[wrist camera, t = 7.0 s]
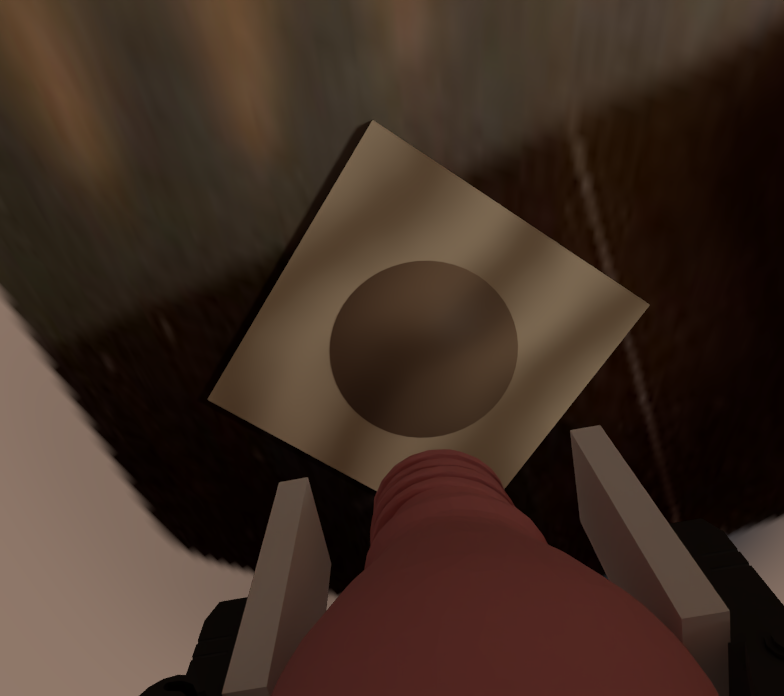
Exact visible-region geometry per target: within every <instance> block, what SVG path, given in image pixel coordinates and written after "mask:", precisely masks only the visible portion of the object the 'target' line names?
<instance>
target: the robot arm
mask: <svg viewBox="0 0 784 696" xmlns="http://www.w3.org/2000/svg"><path fill="white" fill-rule="evenodd" d="M570 435H571V444H572V452H573V461H574V470H575V479H576V488H577V497H578V506H579V515H580V522H581V524H582V526H583V528H584V530H585V532H586V534H587V536H588V538H589V540H590V542H591V544H592V546H593V548H594V550H595V552H596V554H597V557H598V559H599V561H600V563H601V565H602V567H603V569H604V571H605V573H606V575H607V577H608V579H609V581H611V582H612V583H614V584H615V585H617V586H619V587H620V588H622V589H623V590H625V591H626V592H628V593H629V594H630V595H631V596H633V597H634V598H635V599H637V600H638V601H639V602H641V603H642V604H643V605H644V606H645V607H647V608H648V609H649V610H650V611H651V612H652V613H653V614H654V615H655V616H656V617H657V618H658V619H659V620H660V621H661V622H662V623H663V624H664V625H666V626H667V627H668V628H669V629H670V630H671V632H672V633H673V634H674V635H675V636H676V637H677V638H678V639H679V640H680V641H681V643H682V644H683V645H684V646H685V647H686V648H687V649H688V650H689V652H690V653H691V655H692V656H693V657H694V659H695V660H696V661H697V663H698V664H699V666H700V667H701V668H702V670H703V671H704V672H705V674H706V675H707V677H708V678H709V679H710V681H711V682H712V684H713V686H714V687H715V689H716V691H717V693H718V694H719V696H784V605H783V604H782V603H781V602H780V600H779V599H778V598H777V597H776V596H775V594H774V593H773V592H772V591H771V589H770V588H769V587H768V586H767V584H766V583H765V582H764V581H763V580H762V578H761V577H760V576H759V575H758V573H757V572H756V571H755V570H754V568H753V567H752V566H749V563H748V561H747V560H746V559H745V558H744V556H743V555H742V554H741V553H740V552H738V550H737V548H736V547H735V545H734V544H733V543H732V541H731V540H730V539H729V538H728V537H727V535H726V534H725V533H724V532H723V531H722V530H720V529H718V528H717V527H715V526H713V525H712V524H710V523H708V522H707V521H705V520H703V519H702V518H701V519H695V520H689V521H683V522H677V523H671V524H669V523H668V522H667V520H666V519H665V517H664V516H663V515H662V513H661V512H660V510H659V509H658V507H657V506H656V505H655V503H654V502H653V500H652V499H651V497H650V496H649V495H648V493H647V492H646V490H645V489H644V487H643V486H642V485H641V483H640V482H639V480H638V479H637V477H636V476H635V474H634V473H633V472H632V470H631V469H630V467H629V466H628V464H627V463H626V462H625V460H624V459H623V457H622V456H621V454H620V453H619V452H618V450H617V449H616V447H615V446H614V444H613V443H612V442H611V440H610V439H609V437H608V436H607V434H606V433H605V432H604V430H603V429H602V427H601V426H600V425H598V426H592V427H587V428H581V429H575V430H570ZM330 570H331V561H330V557H329V554H328V550H327V546H326V543H325V539H324V535H323V532H322V528H321V524H320V520H319V517H318V513H317V509H316V506H315V502H314V498H313V495H312V491H311V487H310V483H309V480H308V477H306V478H301V479H295V480H290V481H284V482H279V485H278V488H277V492H276V496H275V499H274V503H273V507H272V510H271V514H270V518H269V521H268V525H267V529H266V532H265V536H264V540H263V543H262V547H261V551H260V554H259V558H258V562H257V566H256V569H255V573H254V577H253V580H252V584H251V588H250V591H249V595H248V597H247V598H240V599H234V600H229V601H223V602H219V604H218V605H217V606H216V607H215V609H214V610H213V611H212V612H211V614H210V615H209V616H208V617H207V618H206V620H205V621H204V624H203V627H202V630H201V633H200V636H199V639H198V644H197V645H196V647H195V650H194V653H193V656H192V657H193V660H192V661H191V662H190V665H189V668H188V671H187V673H186V675H176V676H172V677H169V678H166V679H163V680H161V681H159V682H157V683H155V684H154V685H152V686H150V687H148V688H147V689H146V690H145V691H144V692H143V693H142V694H141V695H140V696H271V694H272V692H273V690H274V687H275V685H276V683H277V680H278V679H279V677H280V675H281V673H282V672H283V670H284V668H285V666H286V665H287V663H288V661H289V660H290V658H291V656H292V655H293V653H294V652H295V650H296V648H297V647H298V645H299V644H300V642H301V641H302V639H303V638H304V637H305V635H306V634H307V633H308V632H309V631H310V630H311V628H312V627H313V626H314V625H315V624H316V622H317V621H318V620H319V619H320V618H321V617H322V615H323V614H324V613H325V612H326V607H327V598H328V589H329V579H330Z"/></svg>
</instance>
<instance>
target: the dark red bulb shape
mask: <svg viewBox="0 0 784 696" xmlns="http://www.w3.org/2000/svg"><path fill="white" fill-rule="evenodd" d="M370 542H371V547H370V549H369V551H368V554H367V557H366V563H365V569H364V571H363V572H362V573H360V574H359V575H358V576H357V577H356V578H355V579H354V580H353V581H352V582H351V583H350V584H349V585H348V586H347V587H346V588H345V590H344V591H343V592H342V593H341V594H340V595H339V597H338V598H337V599H336V600H335V601H334V602H333V604H332V605H331V606H330V607H329V609H328V610H327V611H326V612H325V613H324V614H323V615H322V617H321V618H320V619H319V620H318V621H317V622H316V624H315V625H314V626H313V627H312V628H311V630H310V631H309V632H308V633H307V634H306V635H305V637H304V638H303V639H302V641H301V642H300V644H299V645H298V647H297V648H296V650H295V652H294V653H293V655H292V656H291V658H290V660H289V661H288V663H287V665H286V666H285V668H284V670H283V672H282V673H281V675H280V677H279V679H278V680H277V683H276V685H275V687H274V690H273V692H272V694H271V696H719V694H718V693H717V691H716V689H715V687H714V686H713V684H712V682H711V681H710V679H709V678H708V677H707V675H706V674H705V672H704V671H703V670H702V668H701V667H700V666H699V664H698V663H697V661H696V660H695V659H694V657H693V656H692V655H691V653H690V652H689V650H688V649H687V648H686V647H685V646H684V645H683V644H682V643H681V641H680V640H679V639H678V638H677V637H676V636H675V635H674V634H673V633H672V632H671V630H670V629H669V628H668V627H667V626H666V625H664V624H663V623H662V622H661V621H660V620H659V619H658V618H657V617H656V616H655V615H654V614H653V613H652V612H651V611H650V610H649V609H648V608H647V607H645V606H644V605H643V604H642V603H641V602H639V601H638V600H637V599H635V598H634V597H633V596H631V595H630V594H629V593H628V592H626V591H625V590H623V589H622V588H620V587H619V586H617V585H615V584H614V583H612V582H611V581H609V580H608V579H606V578H605V577H603V576H601V575H600V574H598V573H597V572H595V571H593V570H592V569H590V568H589V567H587V566H585V565H584V564H582V563H581V562H579V561H577V560H576V559H574V558H573V557H571V556H570V555H568V554H566V553H564V552H562V551H561V550H559V549H557V548H554V547H552V546H550V545H548V544H547V542H546V540H545V538H544V536H543V534H542V533H541V532H540V531H539V529H538V528H537V527H536V526H535V524H534V523H533V522H532V520H531V519H530V518H529V517H527V516H526V515H525V514H523V513H522V512H521V511H519V510H518V509H517V508H516V507H515V506H514V504H513V502H512V501H511V499H510V497H509V496H508V495H507V494H506V492H505V490H504V488H503V485H502V483H501V481H500V479H499V478H498V476H497V475H496V474H495V472H494V471H493V470H492V469H491V468H490V467H489V466H487V465H486V464H485V463H483V462H482V461H481V460H479V459H478V458H476V457H474V456H471V455H468V454H466V453H463V452H460V451H456V450H451V449H437V450H427V451H424V452H421V453H417V454H414V455H411V456H409V457H407V458H406V459H404V460H403V461H401V462H399V463H398V464H396V465H395V466H394V467H393V468H392V469H391V470H390V471H389V473H388V474H387V475H386V476H385V477H384V478H383V480H382V481H381V483H380V486H379V488H378V491H377V493H376V495H375V498H374V511H373V517H372V523H371V529H370Z"/></svg>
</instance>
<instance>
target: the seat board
mask: <svg viewBox="0 0 784 696" xmlns="http://www.w3.org/2000/svg"><path fill="white" fill-rule="evenodd" d="M648 307H649V304H648V303H646V302H645V301H644V300H642V299H641V298H639V297H638V296H636V295H635V294H633V293H632V292H630V291H629V290H627V289H626V288H624V287H623V286H621V285H620V284H618V283H617V282H615V281H614V280H612V279H611V278H609V277H608V276H606V275H605V274H603V273H602V272H600V271H599V270H597V269H596V268H594V267H593V266H591V265H590V264H588V263H587V262H585V261H584V260H582V259H581V258H579V257H578V256H576V255H575V254H573V253H572V252H570V251H569V250H567V249H566V248H564V247H563V246H561V245H560V244H558V243H557V242H555V241H554V240H552V239H551V238H549V237H548V236H546V235H545V234H543V233H542V232H540V231H539V230H537V229H536V228H534V227H533V226H531V225H530V224H528V223H527V222H525V221H524V220H522V219H521V218H519V217H518V216H516V215H515V214H513V213H512V212H510V211H509V210H507V209H506V208H504V207H503V206H501V205H500V204H498V203H497V202H495V201H494V200H492V199H491V198H489V197H488V196H486V195H485V194H483V193H482V192H480V191H479V190H477V189H476V188H474V187H473V186H471V185H470V184H468V183H467V182H465V181H464V180H462V179H461V178H459V177H458V176H456V175H455V174H453V173H452V172H450V171H449V170H447V169H446V168H444V167H443V166H441V165H440V164H438V163H437V162H435V161H434V160H432V159H431V158H429V157H428V156H426V155H425V154H423V153H422V152H420V151H419V150H417V149H416V148H414V147H413V146H411V145H410V144H408V143H407V142H405V141H404V140H402V139H401V138H399V137H398V136H396V135H395V134H393V133H392V132H390V131H389V130H387V129H386V128H384V127H383V126H381V125H380V124H378V123H377V122H375V121H374V120H372V122H371V123H370V125H369V127H368V129H367V130H366V132H365V134H364V135H363V137H362V139H361V140H360V142H359V144H358V145H357V147H356V149H355V151H354V152H353V154H352V156H351V157H350V159H349V161H348V162H347V164H346V166H345V167H344V169H343V171H342V172H341V174H340V176H339V178H338V179H337V181H336V183H335V184H334V186H333V188H332V189H331V191H330V193H329V194H328V196H327V198H326V200H325V201H324V203H323V205H322V206H321V208H320V210H319V211H318V213H317V215H316V216H315V218H314V220H313V222H312V223H311V225H310V227H309V228H308V230H307V232H306V233H305V235H304V237H303V238H302V240H301V242H300V244H299V245H298V247H297V249H296V250H295V252H294V254H293V255H292V257H291V259H290V260H289V262H288V264H287V266H286V267H285V269H284V271H283V272H282V274H281V276H280V277H279V279H278V281H277V282H276V284H275V286H274V288H273V289H272V291H271V293H270V294H269V296H268V298H267V299H266V301H265V303H264V304H263V306H262V308H261V310H260V311H259V313H258V315H257V316H256V318H255V320H254V321H253V323H252V325H251V326H250V328H249V330H248V332H247V333H246V335H245V337H244V338H243V340H242V342H241V343H240V345H239V347H238V348H237V350H236V352H235V354H234V355H233V357H232V359H231V360H230V362H229V364H228V365H227V367H226V369H225V370H224V372H223V374H222V376H221V377H220V379H219V381H218V382H217V384H216V386H215V387H214V389H213V391H212V392H211V394H210V396H209V398H208V399H207V400H209V401H211V402H213V403H215V404H216V405H218V406H220V407H222V408H224V409H226V410H228V411H229V412H231V413H233V414H235V415H237V416H239V417H240V418H242V419H244V420H246V421H248V422H250V423H252V424H253V425H255V426H257V427H259V428H261V429H263V430H265V431H266V432H268V433H270V434H272V435H274V436H276V437H277V438H279V439H281V440H283V441H285V442H287V443H289V444H290V445H292V446H294V447H296V448H298V449H300V450H301V451H303V452H305V453H307V454H309V455H311V456H313V457H314V458H316V459H318V460H320V461H322V462H324V463H326V464H327V465H329V466H331V467H333V468H335V469H337V470H338V471H340V472H342V473H344V474H346V475H348V476H350V477H351V478H353V479H355V480H357V481H359V482H361V483H363V484H364V485H366V486H368V487H370V488H372V489H374V490H375V491H378V488H379V486H380V483H381V481H382V480H383V478H384V477H385V476H386V475H387V474H388V473H389V471H390V470H391V469H392V468H393V467H394V466H395V465H396V464H398V463H399V462H401V461H403V460H404V459H406V458H407V457H409V456H411V455H414V454H417V453H421V452H424V451H427V450H437V449H451V450H456V451H460V452H463V453H466V454H468V455H471V456H474V457H476V458H478V459H479V460H481V461H482V462H483V463H485V464H486V465H487V466H489V467H490V468H491V469H492V470H493V471H494V472H495V474H496V475H497V476H498V478H499V479H500V481H501V483H502V485H503V488H504V489H505V488H506V486H507V485H508V484H509V483H510V481H511V480H512V479H513V477H514V476H515V475H516V474H517V472H518V471H519V470H520V469H521V467H522V466H523V465H524V464H525V462H526V461H527V460H528V458H529V457H530V456H531V455H532V453H533V452H534V451H535V450H536V448H537V447H538V446H539V445H540V443H541V442H542V441H543V439H544V438H545V437H546V436H547V434H548V433H549V432H550V431H551V429H552V428H553V427H554V426H555V424H556V423H557V422H558V420H559V419H560V418H561V417H562V415H563V414H564V413H565V412H566V410H567V409H568V408H569V407H570V405H571V404H572V403H573V402H574V400H575V399H576V398H577V396H578V395H579V394H580V393H581V391H582V390H583V389H584V388H585V386H586V385H587V384H588V383H589V381H590V380H591V379H592V377H593V376H594V375H595V374H596V372H597V371H598V370H599V369H600V367H601V366H602V365H603V364H604V362H605V361H606V360H607V358H608V357H609V356H610V355H611V353H612V352H613V351H614V350H615V348H616V347H617V346H618V345H619V343H620V342H621V341H622V339H623V338H624V337H625V336H626V334H627V333H628V332H629V331H630V329H631V328H632V327H633V326H634V324H635V323H636V322H637V320H638V319H639V318H640V317H641V315H642V314H643V313H644V312H645V310H646V309H647V308H648Z"/></svg>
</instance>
